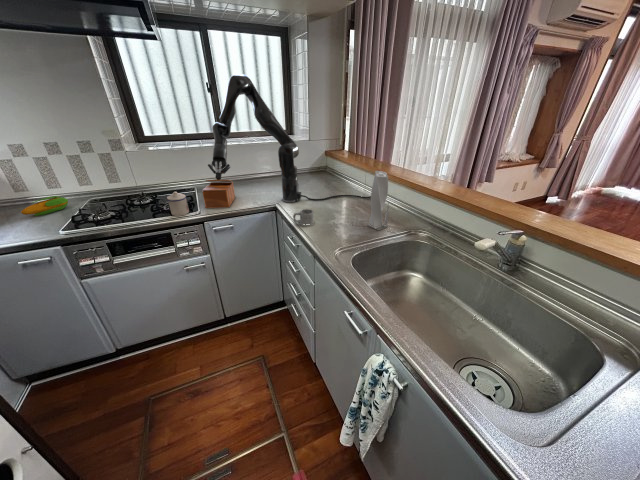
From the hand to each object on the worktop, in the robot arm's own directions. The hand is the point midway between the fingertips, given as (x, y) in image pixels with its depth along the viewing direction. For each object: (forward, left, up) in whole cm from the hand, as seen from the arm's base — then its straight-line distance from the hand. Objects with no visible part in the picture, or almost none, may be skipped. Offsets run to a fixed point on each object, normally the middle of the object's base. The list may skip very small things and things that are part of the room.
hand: (218, 179), depth 153 cm
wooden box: (0, +2, -13) cm, 13 cm away
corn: (+84, +28, -13) cm, 89 cm away
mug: (-53, +25, -13) cm, 61 cm away
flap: (0, -2, -2) cm, 3 cm away
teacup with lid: (+16, +19, -13) cm, 28 cm away
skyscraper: (-89, +24, -13) cm, 94 cm away
